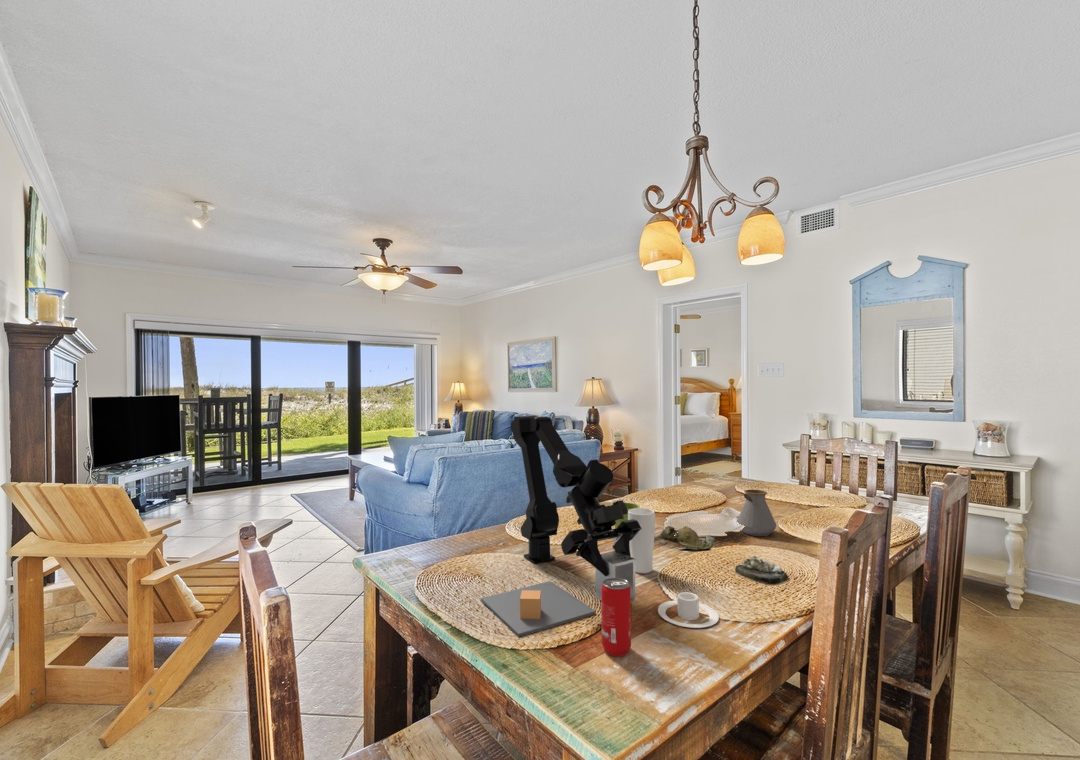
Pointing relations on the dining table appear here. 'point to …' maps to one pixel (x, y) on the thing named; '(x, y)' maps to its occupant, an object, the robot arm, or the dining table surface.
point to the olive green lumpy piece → (685, 538)
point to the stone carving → (761, 571)
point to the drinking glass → (643, 539)
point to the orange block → (530, 604)
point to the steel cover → (617, 571)
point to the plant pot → (629, 506)
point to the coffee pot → (756, 514)
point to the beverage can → (616, 616)
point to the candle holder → (688, 610)
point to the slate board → (553, 608)
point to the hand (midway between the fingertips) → (619, 572)
